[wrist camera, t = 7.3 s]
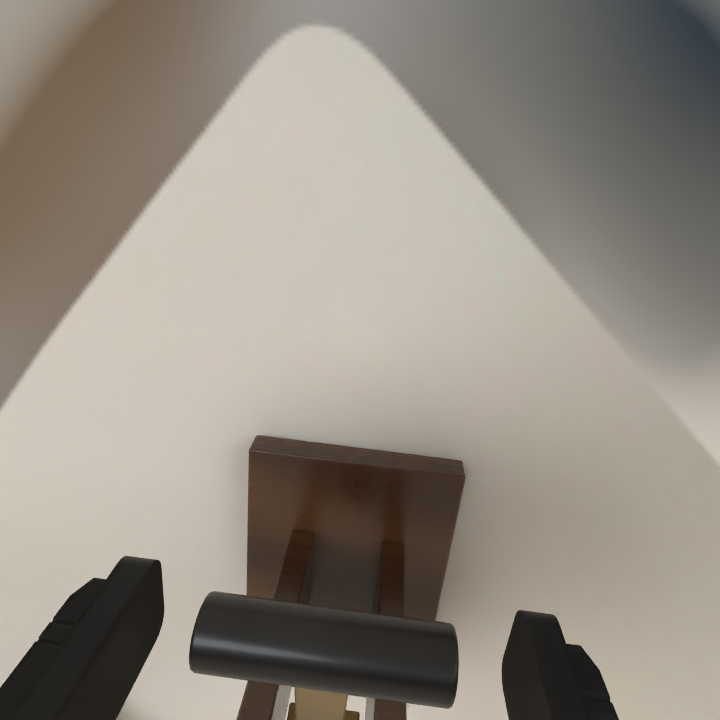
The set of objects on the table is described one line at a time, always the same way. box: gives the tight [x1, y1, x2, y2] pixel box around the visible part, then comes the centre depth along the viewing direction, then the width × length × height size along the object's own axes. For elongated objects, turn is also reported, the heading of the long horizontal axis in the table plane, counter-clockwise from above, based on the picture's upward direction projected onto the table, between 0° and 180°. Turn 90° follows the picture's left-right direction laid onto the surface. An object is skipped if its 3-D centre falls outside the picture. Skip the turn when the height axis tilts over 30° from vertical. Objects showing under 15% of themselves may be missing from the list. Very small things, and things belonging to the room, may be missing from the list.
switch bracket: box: [237, 436, 465, 720], centre depth 19 cm, size 12×9×11 cm
